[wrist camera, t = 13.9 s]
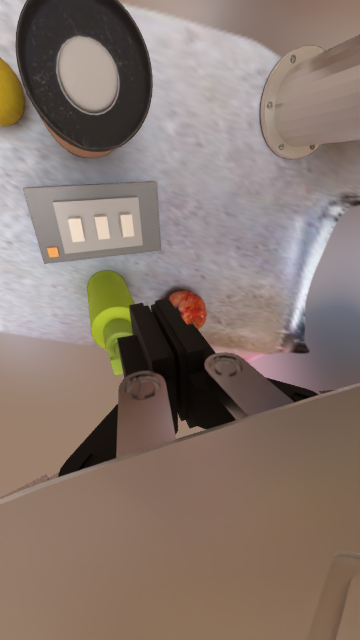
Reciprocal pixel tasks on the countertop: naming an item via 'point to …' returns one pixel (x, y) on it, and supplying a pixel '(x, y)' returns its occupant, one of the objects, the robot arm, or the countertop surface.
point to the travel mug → (84, 72)
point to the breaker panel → (92, 190)
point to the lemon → (10, 96)
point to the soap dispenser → (109, 313)
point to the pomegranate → (189, 307)
